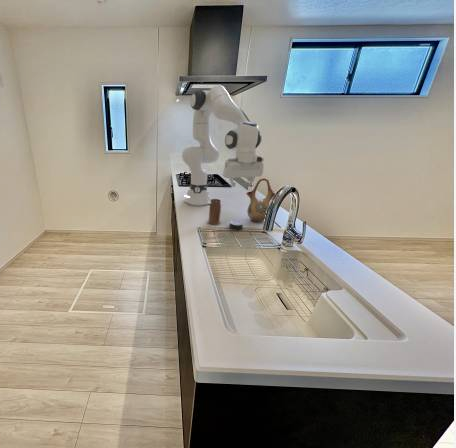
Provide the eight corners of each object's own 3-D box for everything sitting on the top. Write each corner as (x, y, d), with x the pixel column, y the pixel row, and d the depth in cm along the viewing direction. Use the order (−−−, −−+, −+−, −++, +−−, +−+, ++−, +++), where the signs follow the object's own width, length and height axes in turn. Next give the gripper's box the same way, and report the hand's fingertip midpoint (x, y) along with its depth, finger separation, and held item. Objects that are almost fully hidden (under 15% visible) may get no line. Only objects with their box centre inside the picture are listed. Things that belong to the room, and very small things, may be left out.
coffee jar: (208, 220, 141) (210, 198, 136) (219, 221, 139) (221, 199, 134) (207, 224, 135) (209, 201, 130) (219, 225, 134) (221, 202, 128)
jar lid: (244, 227, 130) (245, 223, 129) (238, 231, 126) (239, 226, 125) (233, 224, 134) (233, 220, 133) (227, 227, 130) (227, 223, 129)
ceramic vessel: (268, 218, 143) (275, 176, 134) (274, 223, 135) (282, 180, 126) (240, 217, 144) (246, 176, 135) (244, 223, 136) (251, 179, 126)
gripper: (229, 159, 111) (225, 188, 117) (267, 158, 116) (262, 186, 121) (222, 157, 117) (219, 185, 122) (259, 156, 121) (254, 183, 127)
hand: (241, 185), depth 122 cm, fingers open, 8 cm apart
